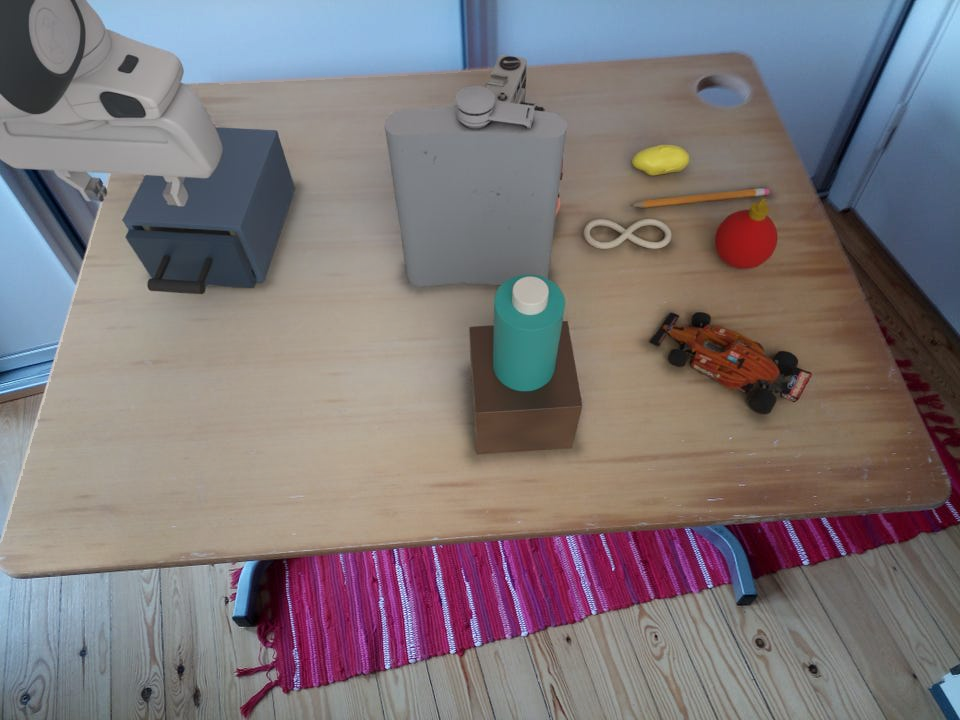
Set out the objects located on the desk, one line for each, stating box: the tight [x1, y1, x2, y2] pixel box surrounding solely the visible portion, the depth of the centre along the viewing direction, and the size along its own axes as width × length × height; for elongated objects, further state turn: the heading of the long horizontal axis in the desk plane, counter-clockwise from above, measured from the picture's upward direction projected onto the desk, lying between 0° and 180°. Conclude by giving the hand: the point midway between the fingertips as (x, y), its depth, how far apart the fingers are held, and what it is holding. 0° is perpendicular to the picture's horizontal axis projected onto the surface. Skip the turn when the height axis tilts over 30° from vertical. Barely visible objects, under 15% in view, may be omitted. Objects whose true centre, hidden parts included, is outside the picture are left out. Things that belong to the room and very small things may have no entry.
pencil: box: [629, 187, 771, 209], centre depth 89 cm, size 1×1×19 cm
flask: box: [383, 85, 567, 288], centre depth 72 cm, size 17×5×25 cm, turn 88°
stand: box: [468, 320, 584, 455], centre depth 69 cm, size 10×10×9 cm
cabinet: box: [121, 126, 296, 283], centre depth 83 cm, size 17×14×10 cm
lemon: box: [631, 144, 691, 176], centre depth 91 cm, size 4×8×4 cm, turn 92°
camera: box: [484, 54, 546, 112], centre depth 92 cm, size 14×9×10 cm, turn 156°
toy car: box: [649, 311, 813, 415], centre depth 74 cm, size 8×16×4 cm, turn 54°
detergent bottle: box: [493, 274, 566, 391], centre depth 60 cm, size 6×6×12 cm
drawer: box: [124, 226, 257, 295], centre depth 81 cm, size 20×12×8 cm, turn 175°
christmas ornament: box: [714, 197, 779, 270], centre depth 80 cm, size 7×7×10 cm
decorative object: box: [582, 218, 672, 250], centre depth 86 cm, size 11×1×5 cm
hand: (138, 199), depth 66 cm, fingers open, 7 cm apart
